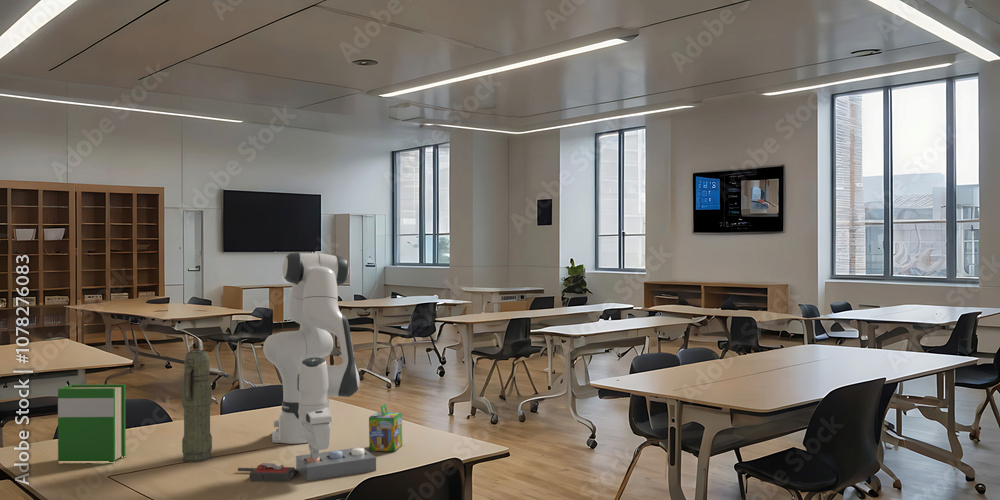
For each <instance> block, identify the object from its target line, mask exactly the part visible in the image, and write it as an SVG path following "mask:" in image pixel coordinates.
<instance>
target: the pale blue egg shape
mask: <svg viewBox="0 0 1000 500" xmlns="http://www.w3.org/2000/svg"><path fill="white" fill-rule="evenodd" d="M339 450H340V449H336V450H330V451H331V452H329V451H328V452H329V459H330V460H333V459H340V458H343V452H342V451H339Z"/></svg>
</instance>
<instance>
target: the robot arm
mask: <svg viewBox="0 0 1000 500" xmlns="http://www.w3.org/2000/svg"><path fill="white" fill-rule="evenodd" d="M281 271H282V275H283V278H284V279H285V280H286V282H288V283H290V284H292V287H291V292H290V299H289V305H288V311H287V312H288V315H289V318H290V319H291V320H292V321H294V322H295V323H297V324H299V329H298V330H289V331H281V332H277V333H273V334H271V335H268V336H267V337H266V339H265V340H264V343H263V347H262V349H263V355H264V356H265V358H266V360H267V361H268V362H270V363H271V364H273V365H274V366H275V368H276V369H277V370H278V372H279V374H280V376H281V381H282V391H283V393H282V394H283V399H282V401H281V412H280V414H279V417H278V419H277V420H273V428H276V429H274V430H272V434H271V437H272V441H271V442H272V443H274V444H275V443H277V444H278V443H282V444H288V445H289V444H294V445H295V444H306V443H308V449H309V454H310V457H311V458H312V459H318V453H320V451H321V450H327V449H328V448H329V447H330V440H331V439H330V438H331V437H330V436H331V424H330V423H332V419H333V416H332V414H331V412H330V403H329V401H330V400H329V397H344V398H350V397H351V396H353V395H354V394H356V393H357V391H358V390H359V389H360V388H359V387H360V383H361V381H360V374H359V372H358V371H359V370H358V368H357V365H356V364H357V363H356V358H355V351H354V345H353V340H352V339H353V338H352V333H351V329H350V324H349V323H350V322H349V321H348V317H347V316H346V315H345V314H343V313H342V312H341V311H340V308H339V303H338V302H339V299H338V298H339V294H338V293H339V291H338V286H342V285H343V284H345V283H346V281H347V279H348V276H349V274H350V273H349V272H350V267H349V262H348V260H347V258H345V257H343V256H342V255H337V254H336V255H333V254H329V253H328V254H327V253H322V252H321V253H320V252H317V253H314V252H313V253H312V252H311V253H310V252H308V253H307V252H305V253H304V252H302V253H301V252H291V253H288V254H287V255H286V256H285V258H284V260H283V263H282V269H281ZM331 334H333V335H335V337H337V340H338V342H339V349H340V355H341V360H342V363H341V364H337V365H335V364H334V365H333V364H331V365H329V364H327V360H326V359H325V357H328V356H330V354H331V353H332V351H333V349H334V339H333V336H332V335H331Z"/></svg>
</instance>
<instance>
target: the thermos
mask: <svg viewBox="0 0 1000 500" xmlns="http://www.w3.org/2000/svg"><path fill="white" fill-rule="evenodd" d="M183 361H184V362H183V363H184V365H183V366H184V367H183V368H184V372H183V373H184V376H183V377H184V381H183V387H182V389H181V390H182V396H181V398H182V408H183V432H184V433H183V437H182V441H181V447H182V448H181V449H182V451H181V452H182V461H183V462H186V463H197V462H205V461H208V460H210V459H211V458H212V449H213V436H212V432H211V406H212V405H211V404H212V403H213V402H212V400H213V399H212V398H213V397H212V396H213V395H212V393H213V392H212V390H213V389H212V385H211V381H210V380H211V379H210V372H211V371H210V369H211V368H210V356H209V353H208V351H205V350H203V349H202V350H201V349H200V350H199V349H197V350H189V352H187V353H186V355H185V357H184V360H183Z"/></svg>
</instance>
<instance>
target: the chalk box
mask: <svg viewBox="0 0 1000 500" xmlns="http://www.w3.org/2000/svg"><path fill="white" fill-rule="evenodd" d="M384 410H385V411H384ZM368 435H369V436H368V441H369V444H368V445H369V450H368V452H391V453H392V452H393V453H394V452H396V451H397V450H399V449H400V448H402V446H403V413H401V412H391V411H390V412H389V411H388V407H387V404H386V403H384V404H382V405H381V406H380V411H379V412H376V413H374V414H372V415H370V416H369V418H368Z"/></svg>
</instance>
